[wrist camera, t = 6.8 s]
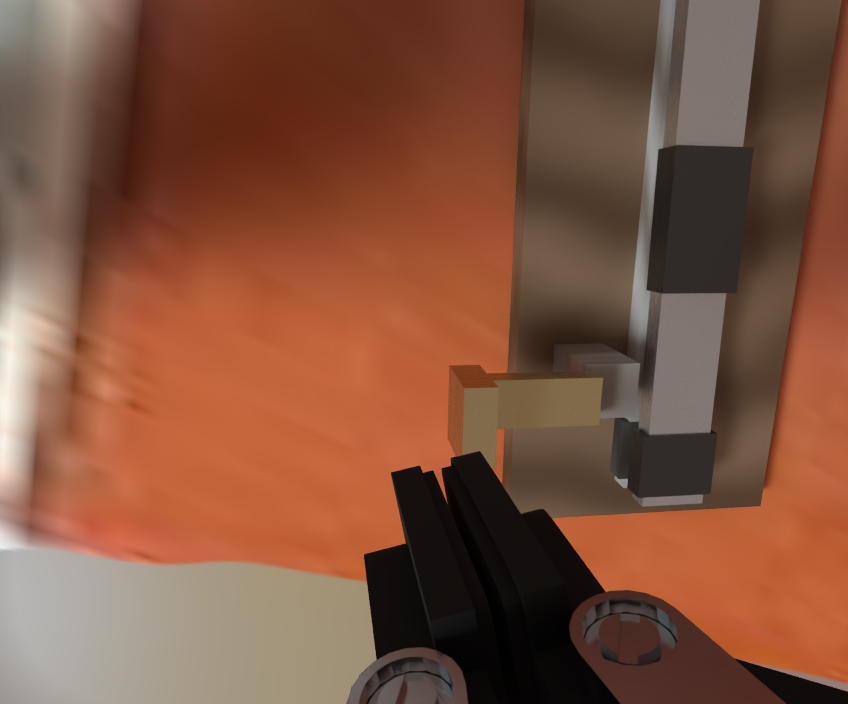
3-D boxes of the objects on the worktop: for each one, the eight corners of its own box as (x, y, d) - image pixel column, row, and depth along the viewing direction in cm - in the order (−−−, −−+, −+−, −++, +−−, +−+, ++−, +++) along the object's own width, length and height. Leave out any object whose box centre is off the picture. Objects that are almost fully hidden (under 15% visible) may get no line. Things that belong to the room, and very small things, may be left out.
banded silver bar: (677, -105, 23) (698, -126, 22) (762, -98, 24) (787, -118, 22) (626, 497, 28) (640, 511, 27) (695, 493, 29) (713, 506, 27)
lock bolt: (445, 433, 24) (462, 470, 21) (447, 362, 23) (464, 388, 20) (588, 428, 25) (626, 462, 21) (593, 359, 24) (634, 383, 21)
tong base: (533, -181, 24) (586, -290, 19) (840, -149, 26) (967, -241, 21) (501, 506, 31) (533, 566, 26) (742, 492, 33) (817, 547, 28)
